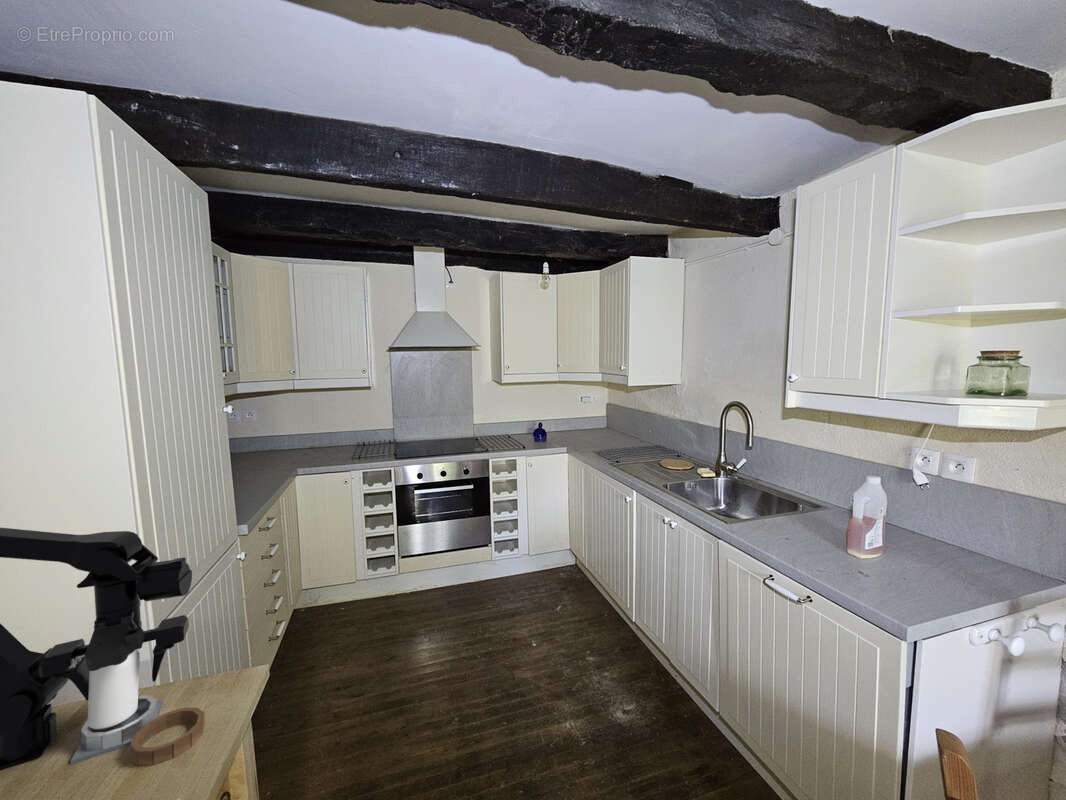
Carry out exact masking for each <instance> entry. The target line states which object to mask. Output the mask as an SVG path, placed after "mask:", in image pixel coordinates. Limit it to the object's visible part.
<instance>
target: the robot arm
mask: <svg viewBox="0 0 1066 800" xmlns="http://www.w3.org/2000/svg"><path fill="white" fill-rule="evenodd" d="M0 558H3V559H18V560H29V561H41V562H42V561H43V562H44V561H45V562H55V563H57V562H58V563H62V564H65V565H66V564H67V565H69V566H71V567H72V568H74V569H76V570H78V571H83V572H87V575H86V576H85V577H84V578H83V580H82V581H80V582H79V583H77V584H76V588H77V589H83V588H90V587H93V591H94V606H95V620H94V621H93V623H94V626H93V632H92V635H91V638H90V641H89V643H88V644H85V640H84V638H80V639H75V640H71V641H67V642H66V641H65V642H62V643H57V644H55V645H54V646H53V647H50V648H48V649H47V650H46V651H45V652H44V653H43V652H37V651H32V650H30V649H28V648H27V647H26V646H25V645H24V644H23V643H22V642H21V641H20V640H18V638H16V637H15V636H14V635H13V634H12V633H11V632H10V631H9V630H8V629H7V628H6V627H5V626H4V625H3V624H2V623H0V770H3V769H5V768H9V767H13V766H16V765H19V764H22V763H25V762H29V761H31V760H35V759H38V758H40V757H42V756H43V755H44V754H45V752H46V750H47V748H48V747H49V745H51V744H52V742H53V741H54V739H55V738H56V736H57V735H58V729H57V727H58V726H57V712H54V711H53V710H52V709H53V708H52V703H50V702H51V701H53V700H54V699H55V698H56V697H57V695H58V694H59V692H60V691H61V690H62V689H63V688H64V687H65V686H66V684H67V683H68V681H69V680H70V681H71V682H72V683H73V684H74V686H75V688H77V689H78V691H79V692H80V693H81V694H82V696H83V697H84V699H85V700H86V701H88V697H89V672H90V671H95V670H99V669H100V668H103V667H107V666H111V665H118V664H121V663H123V662H124V661H125V660H126V659H127V657H128V654H129V653H133V651H134V650H139V649H141V648H143V644H144V643H147V642H152V641H155V645H154V647H153V649H152V655H153V656H152V657H153V658H152V672H151V679H152V682H153V683H154V682H156V681H157V678H158V675H159V671H160V669H161V666H162V663H163V660H164V658H165V657H164V656H165V655H166V652H167V650H170V649H172V648H174V646H175V645H176V644H179V643H181V642H183V641H185V639H186V636H187V633H188V630H189V627H190V626H189V625H190V624H189V623H190V622H189V617H188V616H186V615H185V614H182V615H179V616H175V617H171V618H166V619H161V621H160V624H159V625H158V626H157V627H155V628H151V629H148V630H144V629H143V628H142V627H143V625H142V623H143V621H142V619H141V618H142V617H141V616H142V615H141V603H142V602H141V601H145V602H152V601H158V600H159V601H160V600H165V599H172V598H179V597H183V596H186V595H188V593H189V592H190V589H191V585H192V580H193V570H191V566H190V565H189V564H188V562H187V559H186V557H184V556H183V557H178V558H174V559H170V560H169V559H168V560H163V561H162V560H161V561H158V560H159V557H158V556H157V555H155V554H154V553H153V552H152V551H151V550H150V549H149V548H148V547H147V546H146V545H145V544H143V542H142V540H141V538H140V537H139V535H138V534H137V533H136V532H133V531H129V530H128V531H127V530H121V531H102V532H96V533H89V534H72V533H70V534H69V533H63V532H62V533H60V532H52V531H42V530H41V531H40V530H29V529H19V528H7V527H0ZM131 561H135V562H134V563H133V564H129V563H130V562H131Z"/></svg>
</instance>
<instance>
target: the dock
mask: <svg viewBox="0 0 1066 800" xmlns="http://www.w3.org/2000/svg"><path fill="white" fill-rule="evenodd" d="M163 704H164V699H163V700H159V701H158V700H157V699H156V698H155V697H154V696H152V695H138V707H137V710H136V711H135V713H134V714H133V715H132V716H131V717H130V718H129V719H127V720H126V721H124V722H122V723H121V724H119V725H116V726H114V727H111V728H107V729H102V730H95V729H92V728H90V727H89V726H88V719H87V720H86V721H85V722H84V724H83V726H82V728H81V729H80V739H81V740H80V743H79V744H78V746H77V748H76V750H75V753H74V754H73V756H72V758H70V759H71V760H70V765H72V764H76V763H79V762H81V761H85V760H88V759H92V758H94V757H95V758H96V757H97V756H98V757H99V756H100V755H104V754H107V753H111V752H113V751H116V750H119V749H122V748H126V747H129V746H131V742H132V740H133V737H134V735H135V734H136V733H137V732H138V731H139V730H140V729H141V728H142V727H143V726H145V725H146V724H147V723H148V722H150V721H152V720H154V719H156V718H157V717H159V716H160V712H161V710H162V707H163ZM151 738H152V737H151V734H150V735H149V740H150V739H151Z"/></svg>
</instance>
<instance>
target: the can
mask: <svg viewBox="0 0 1066 800" xmlns="http://www.w3.org/2000/svg"><path fill="white" fill-rule="evenodd" d="M139 681H140V652H139V649H137V650H134V651H133V653H129V654H128V657H127V659H126V660H125V661H124V662H123V663H121V664H118V665H111V666H107V667H103V668H100V669H99V670H95V671H90V672H89V697H88V700H87V701H88V703H87V720H88V726H89V727H90V728H92V729H95V730H102V729H107V728H111V727H114V726H116V725H119V724H121V723H122V722H124V721H126V720H127V719H129V718H130V717H131V716H132V715H133V714H134V713H135V711H136V710H137V707H138V696H139V684H140V682H139Z"/></svg>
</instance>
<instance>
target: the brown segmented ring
mask: <svg viewBox="0 0 1066 800" xmlns="http://www.w3.org/2000/svg"><path fill="white" fill-rule="evenodd" d="M182 724H193V726H192V727H190V728H191V729H189V730H187V732H186V733H184V734H183V735H181V736H179V737H178V738H176V739H174V740H172V741H170V742H167V743H164V744H161V745H158V746H143V745H145V744H146V742H148V741H149V740H150V739H149V735H150V734H151V738H152V737H154V736H155V735H157V734H159V733H160V732H162V731H165V730H166V729H169V728H172V727H174V726H178V725H182ZM204 729H205V712H204V711H203V710H201V709H200V708H199V707H181V708H178V709H174V710H170V711H168V712H166V713H163V714H161V715H159V716H158V717H157V718H156V719H154V720H152V721H150V722H148V723H147V724H146V725H145V726H143V727H142V728H141V729H140V730H139V731H138V732H137V733H136V734H135V735H134V737H133V740H132V742H131V745H130V760H131V761H132V762H133V763H134V764H135V765H136V766H156V765H158V764H162V763H164V762H167V761H170V760H172V759H173V758H177V756H180V755H181V754H182V753H184V752H186V751H187V750H189V749H191V747H193V746H194V745H195V744H196V742H197V741H198V740H199V739H200V738H201V737H202V736H203V734H204Z"/></svg>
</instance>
